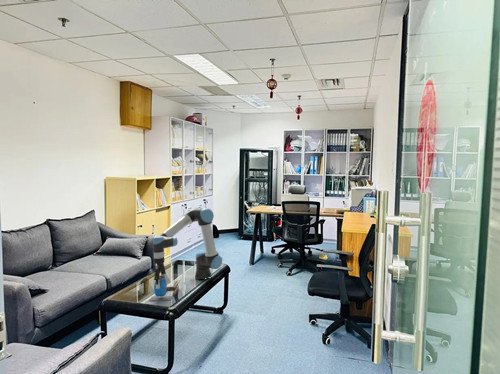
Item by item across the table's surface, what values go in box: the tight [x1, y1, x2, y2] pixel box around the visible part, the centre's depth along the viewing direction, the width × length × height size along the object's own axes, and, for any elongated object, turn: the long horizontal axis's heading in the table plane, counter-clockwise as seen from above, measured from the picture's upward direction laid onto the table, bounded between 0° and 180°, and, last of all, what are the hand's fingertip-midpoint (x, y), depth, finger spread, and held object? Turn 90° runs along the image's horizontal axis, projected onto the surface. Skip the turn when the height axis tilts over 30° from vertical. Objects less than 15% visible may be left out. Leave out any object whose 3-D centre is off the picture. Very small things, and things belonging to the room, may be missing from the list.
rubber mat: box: [148, 295, 174, 302], centre depth 250 cm, size 16×8×1 cm, turn 88°
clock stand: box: [166, 286, 180, 297], centre depth 262 cm, size 10×15×2 cm, turn 178°
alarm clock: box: [153, 274, 168, 296], centre depth 250 cm, size 13×6×15 cm, turn 179°
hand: (160, 285), depth 250 cm, fingers closed on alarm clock, 13 cm apart
